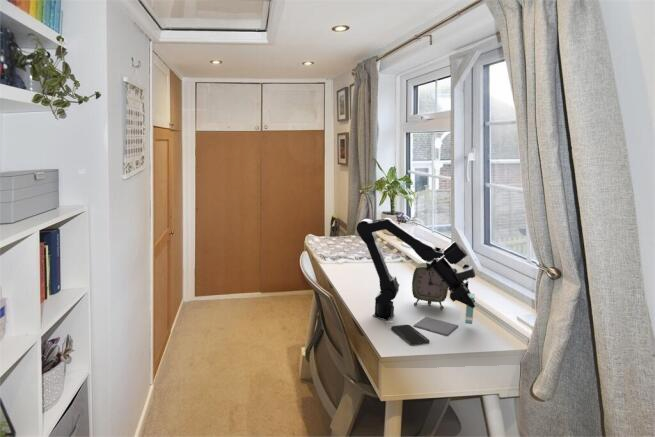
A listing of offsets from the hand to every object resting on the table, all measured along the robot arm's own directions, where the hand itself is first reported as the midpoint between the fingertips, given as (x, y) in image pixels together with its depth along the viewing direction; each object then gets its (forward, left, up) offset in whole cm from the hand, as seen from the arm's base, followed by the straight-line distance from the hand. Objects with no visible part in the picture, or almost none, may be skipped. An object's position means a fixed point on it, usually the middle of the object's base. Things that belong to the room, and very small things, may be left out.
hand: (474, 304), depth 167 cm
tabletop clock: (-22, +13, -10) cm, 27 cm away
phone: (-15, -20, -10) cm, 27 cm away
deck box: (-1, 0, -7) cm, 7 cm away
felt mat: (-11, -6, -9) cm, 16 cm away
